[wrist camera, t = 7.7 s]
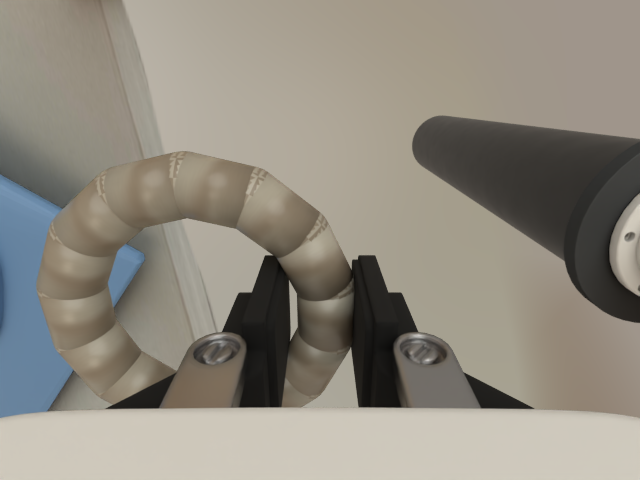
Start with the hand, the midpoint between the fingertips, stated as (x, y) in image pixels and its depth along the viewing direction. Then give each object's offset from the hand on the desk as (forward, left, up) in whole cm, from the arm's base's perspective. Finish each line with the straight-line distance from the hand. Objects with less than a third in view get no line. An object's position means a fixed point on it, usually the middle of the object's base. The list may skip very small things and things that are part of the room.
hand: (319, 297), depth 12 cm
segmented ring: (+4, 0, +1) cm, 4 cm away
